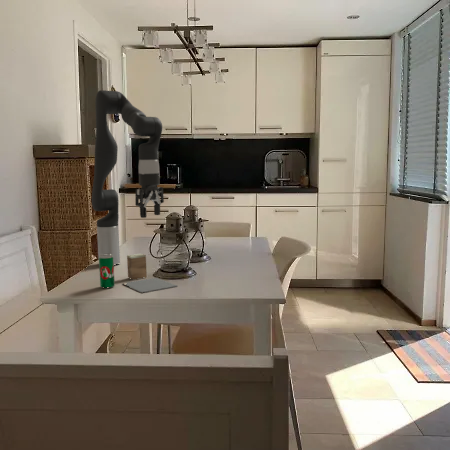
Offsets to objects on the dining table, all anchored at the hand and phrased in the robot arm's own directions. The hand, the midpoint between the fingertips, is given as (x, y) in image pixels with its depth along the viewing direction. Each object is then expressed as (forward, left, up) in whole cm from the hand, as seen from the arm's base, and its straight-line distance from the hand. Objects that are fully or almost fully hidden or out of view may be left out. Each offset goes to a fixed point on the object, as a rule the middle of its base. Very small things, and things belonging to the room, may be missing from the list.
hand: (150, 216), depth 178 cm
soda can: (-3, -17, -25) cm, 30 cm away
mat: (+5, -4, -25) cm, 25 cm away
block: (-9, -2, -25) cm, 26 cm away
